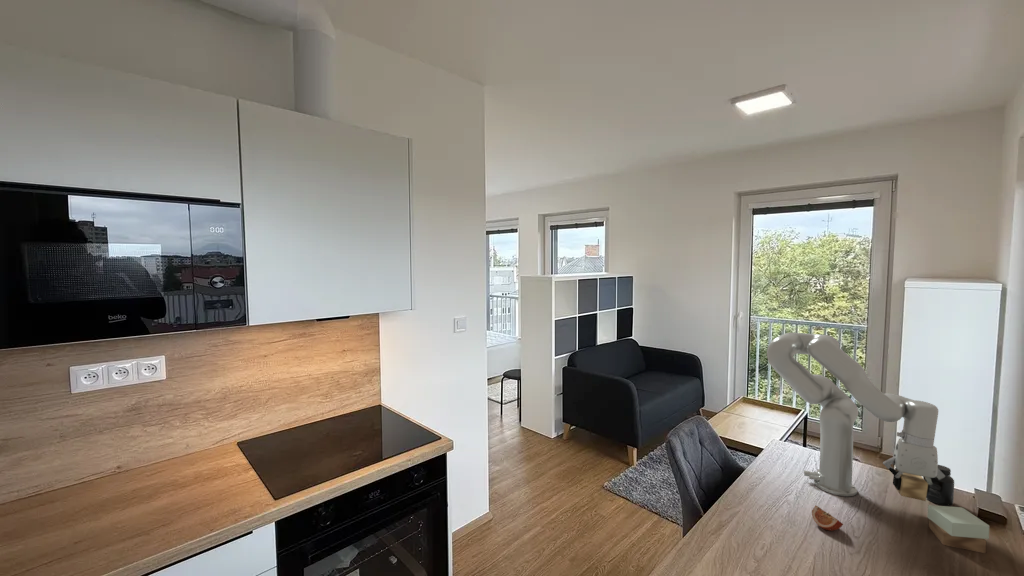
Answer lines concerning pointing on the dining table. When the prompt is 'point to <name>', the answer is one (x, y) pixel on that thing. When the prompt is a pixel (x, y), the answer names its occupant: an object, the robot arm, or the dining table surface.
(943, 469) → the supplement bottle
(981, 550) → the block
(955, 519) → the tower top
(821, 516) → the fruit slice
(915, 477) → the oak cube
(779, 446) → the dining table surface
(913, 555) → the dining table surface
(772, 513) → the dining table surface
